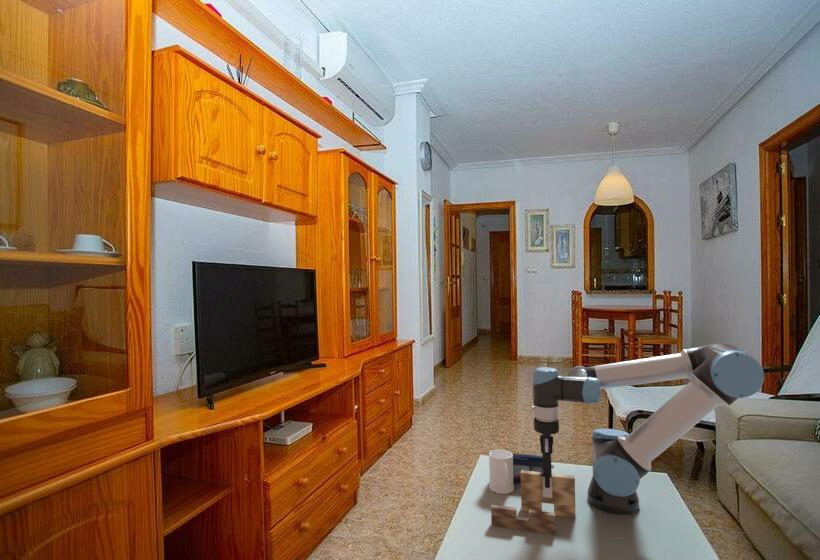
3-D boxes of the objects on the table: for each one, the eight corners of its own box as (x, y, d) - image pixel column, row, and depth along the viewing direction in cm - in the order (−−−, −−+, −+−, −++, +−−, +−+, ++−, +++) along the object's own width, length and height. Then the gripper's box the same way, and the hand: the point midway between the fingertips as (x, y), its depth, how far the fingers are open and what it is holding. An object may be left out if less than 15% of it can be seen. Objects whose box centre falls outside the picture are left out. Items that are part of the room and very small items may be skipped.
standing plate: (555, 531, 127) (554, 512, 127) (555, 535, 126) (554, 515, 125) (492, 522, 132) (491, 504, 132) (491, 525, 131) (491, 507, 131)
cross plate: (575, 514, 136) (574, 475, 136) (575, 518, 134) (574, 478, 134) (521, 507, 141) (521, 470, 141) (521, 510, 139) (520, 472, 139)
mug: (518, 498, 146) (518, 462, 146) (493, 499, 146) (492, 463, 146) (511, 482, 158) (510, 448, 158) (487, 482, 158) (486, 449, 158)
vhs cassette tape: (492, 481, 159) (491, 453, 159) (493, 477, 162) (492, 450, 162) (545, 487, 154) (545, 459, 153) (545, 483, 156) (545, 455, 156)
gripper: (534, 409, 146) (535, 479, 147) (532, 426, 130) (534, 505, 130) (558, 410, 144) (559, 482, 144) (559, 428, 128) (561, 508, 128)
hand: (547, 492), depth 137 cm, fingers open, 4 cm apart
